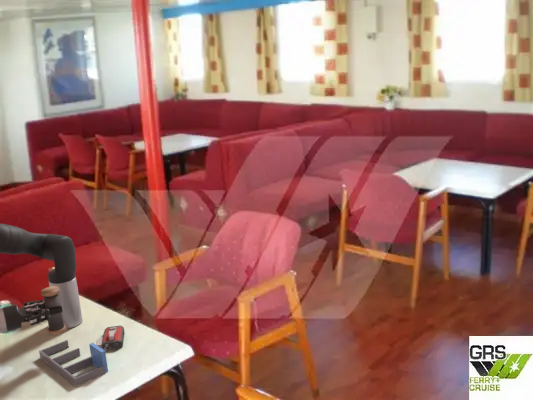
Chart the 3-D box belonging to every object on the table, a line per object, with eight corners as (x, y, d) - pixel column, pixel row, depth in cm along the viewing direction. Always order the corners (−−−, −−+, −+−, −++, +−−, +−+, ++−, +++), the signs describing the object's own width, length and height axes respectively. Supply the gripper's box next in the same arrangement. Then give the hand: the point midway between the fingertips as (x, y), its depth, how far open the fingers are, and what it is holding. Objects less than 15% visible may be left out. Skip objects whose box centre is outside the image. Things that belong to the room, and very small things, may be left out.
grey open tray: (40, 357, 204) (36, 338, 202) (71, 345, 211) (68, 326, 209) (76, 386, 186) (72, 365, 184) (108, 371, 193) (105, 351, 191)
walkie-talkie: (99, 334, 218) (93, 364, 199) (97, 323, 216) (91, 351, 197) (125, 331, 219) (121, 360, 200) (123, 320, 218) (120, 347, 199)
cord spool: (45, 330, 202) (37, 290, 198) (61, 324, 205) (54, 284, 201) (52, 336, 198) (45, 295, 194) (69, 329, 201) (62, 289, 197)
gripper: (3, 317, 186) (63, 302, 193) (-2, 300, 198) (54, 287, 205) (8, 340, 188) (66, 324, 195) (3, 322, 200) (58, 308, 207)
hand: (60, 305), depth 200 cm, fingers closed on cord spool, 4 cm apart
